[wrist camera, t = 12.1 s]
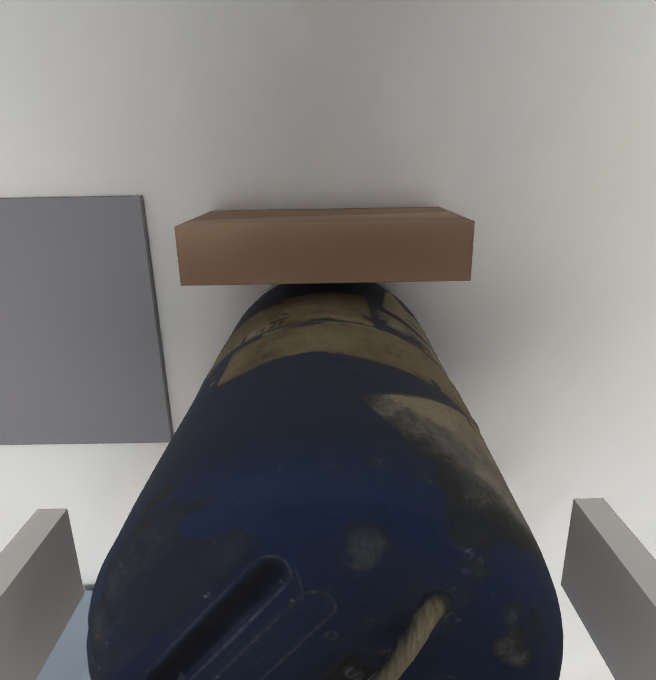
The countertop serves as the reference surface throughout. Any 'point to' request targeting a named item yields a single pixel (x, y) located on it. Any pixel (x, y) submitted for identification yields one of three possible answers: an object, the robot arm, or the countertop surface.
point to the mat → (79, 324)
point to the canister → (325, 518)
